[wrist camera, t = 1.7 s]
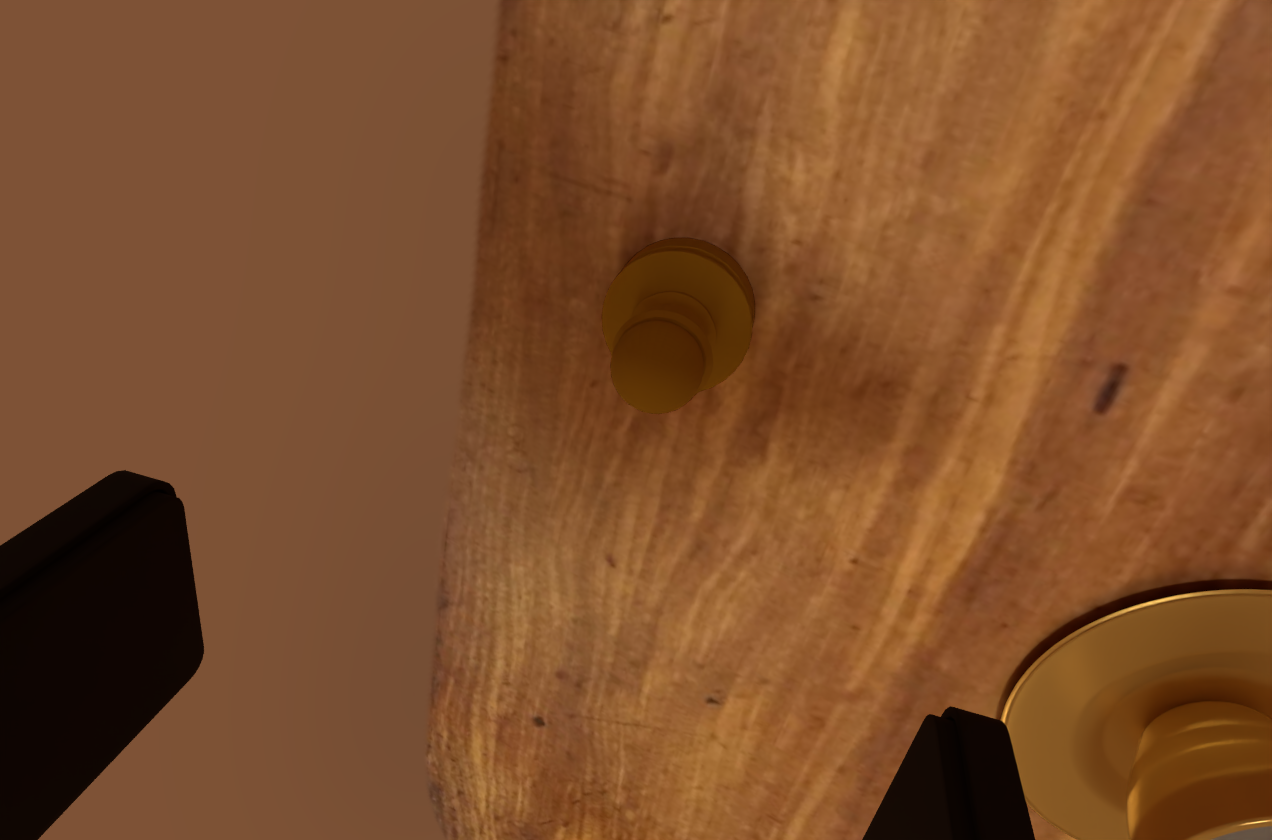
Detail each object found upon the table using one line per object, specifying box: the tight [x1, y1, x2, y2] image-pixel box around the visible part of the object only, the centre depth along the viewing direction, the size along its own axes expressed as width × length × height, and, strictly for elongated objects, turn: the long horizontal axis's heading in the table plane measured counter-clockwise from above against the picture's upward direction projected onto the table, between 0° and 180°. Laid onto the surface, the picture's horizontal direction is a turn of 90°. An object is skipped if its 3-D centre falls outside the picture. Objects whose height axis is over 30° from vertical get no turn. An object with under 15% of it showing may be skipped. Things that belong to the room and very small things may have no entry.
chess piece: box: [602, 238, 755, 414], centre depth 19 cm, size 4×4×5 cm
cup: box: [1001, 589, 1272, 840], centre depth 22 cm, size 12×12×5 cm
